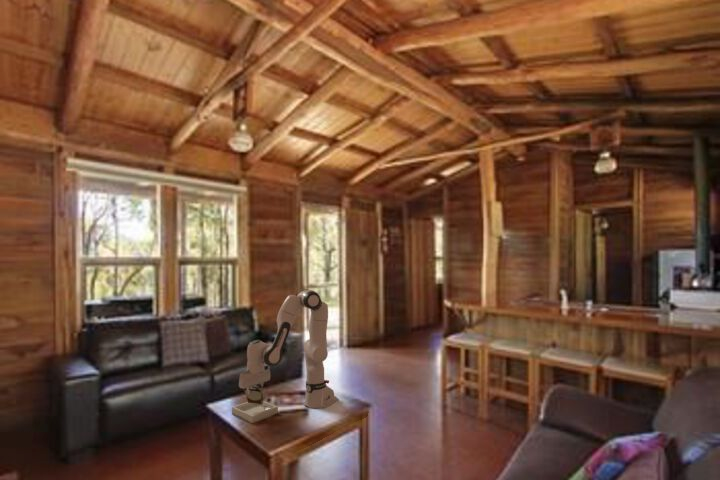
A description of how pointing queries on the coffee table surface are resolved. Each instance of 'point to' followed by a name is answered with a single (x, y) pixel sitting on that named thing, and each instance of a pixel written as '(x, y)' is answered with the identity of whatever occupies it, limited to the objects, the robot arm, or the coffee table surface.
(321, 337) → the robot arm
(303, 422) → the coffee table surface
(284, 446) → the coffee table surface
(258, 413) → the tray
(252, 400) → the food container
